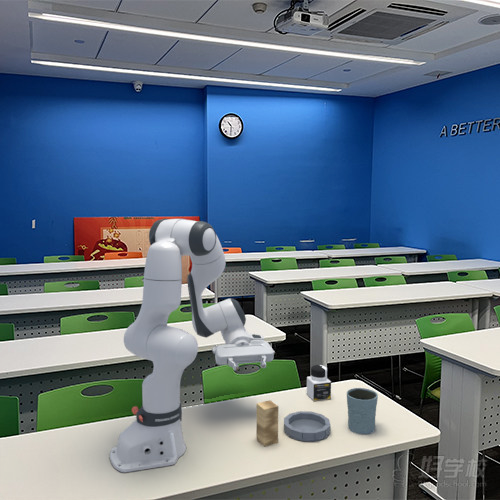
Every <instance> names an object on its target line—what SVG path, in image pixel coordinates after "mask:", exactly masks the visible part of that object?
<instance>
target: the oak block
mask: <svg viewBox="0 0 500 500" xmlns="http://www.w3.org/2000/svg"><path fill="white" fill-rule="evenodd" d="M255 437H256V438H255V439H256V441H258V443H260V445H262V446H263V447H268V446H271V445H275V444H278V443H279V405H278V404H276V403H275V402H273V401H272V400H270V399H269V400H265V401H261V402H258V403H256V434H255Z"/></svg>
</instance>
